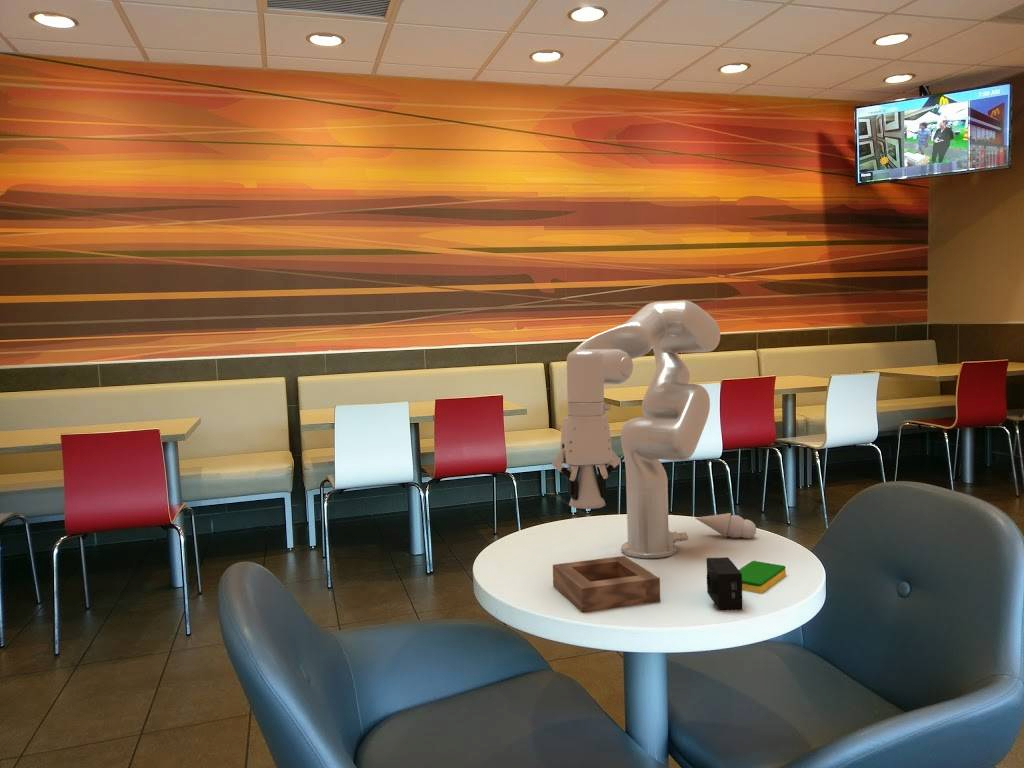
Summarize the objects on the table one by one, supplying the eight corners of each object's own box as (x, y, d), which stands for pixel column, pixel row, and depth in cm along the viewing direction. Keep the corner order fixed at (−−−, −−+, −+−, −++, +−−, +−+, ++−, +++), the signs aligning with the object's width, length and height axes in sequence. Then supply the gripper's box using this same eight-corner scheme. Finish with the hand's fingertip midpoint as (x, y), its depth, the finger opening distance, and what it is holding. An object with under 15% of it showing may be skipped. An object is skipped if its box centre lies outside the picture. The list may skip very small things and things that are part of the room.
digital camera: (700, 592, 150) (700, 557, 150) (728, 591, 150) (728, 556, 150) (712, 611, 140) (711, 573, 140) (742, 610, 140) (741, 573, 139)
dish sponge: (726, 589, 153) (725, 577, 153) (753, 571, 163) (752, 560, 163) (760, 596, 148) (760, 583, 148) (786, 577, 159) (786, 565, 159)
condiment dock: (624, 576, 161) (624, 555, 161) (660, 601, 146) (659, 578, 146) (553, 586, 157) (552, 564, 156) (582, 612, 141) (581, 588, 141)
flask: (562, 506, 158) (561, 458, 158) (586, 501, 163) (586, 455, 163) (587, 511, 153) (586, 462, 152) (612, 506, 158) (611, 458, 157)
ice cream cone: (692, 533, 193) (753, 547, 188) (691, 523, 188) (754, 537, 183) (696, 512, 196) (757, 525, 191) (696, 501, 191) (758, 514, 186)
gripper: (617, 407, 163) (618, 492, 164) (541, 410, 159) (542, 497, 159) (631, 410, 156) (632, 498, 156) (551, 413, 151) (553, 504, 152)
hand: (587, 497), depth 158 cm, fingers closed on flask, 5 cm apart
